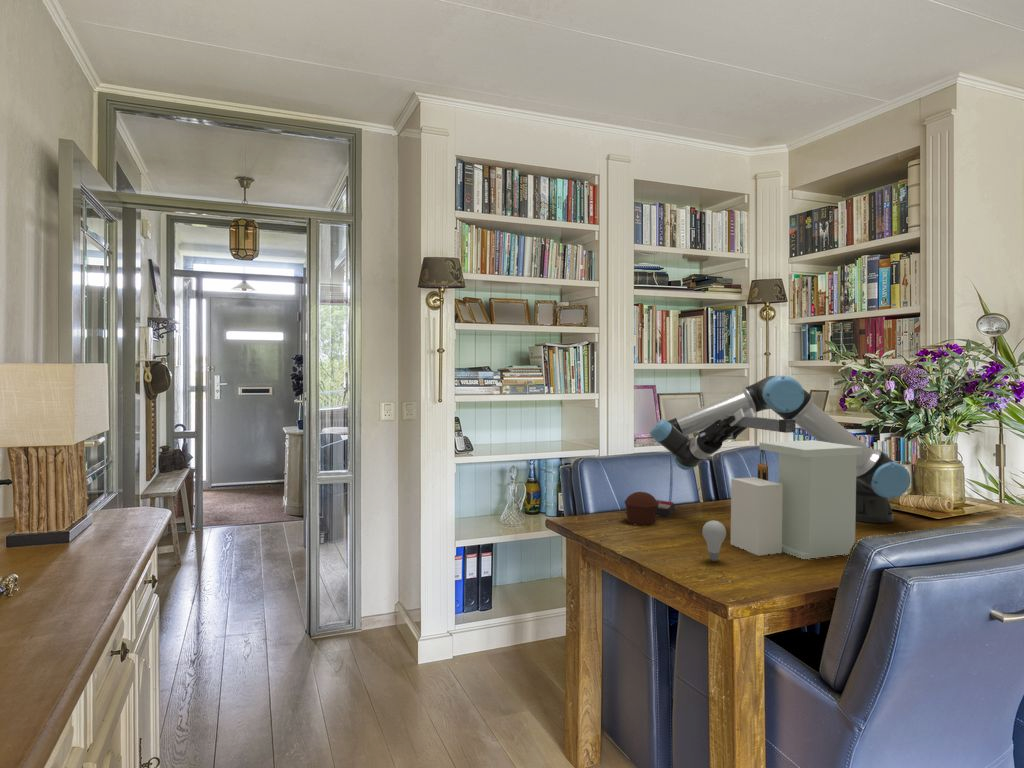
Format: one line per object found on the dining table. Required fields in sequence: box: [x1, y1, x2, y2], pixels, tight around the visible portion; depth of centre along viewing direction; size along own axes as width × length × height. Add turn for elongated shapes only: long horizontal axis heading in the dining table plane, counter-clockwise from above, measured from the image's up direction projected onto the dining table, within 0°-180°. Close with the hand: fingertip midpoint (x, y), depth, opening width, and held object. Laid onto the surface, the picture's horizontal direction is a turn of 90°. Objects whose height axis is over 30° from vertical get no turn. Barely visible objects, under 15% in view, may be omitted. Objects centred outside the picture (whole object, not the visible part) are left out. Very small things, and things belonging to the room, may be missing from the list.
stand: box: [758, 439, 862, 560], centre depth 184 cm, size 18×20×30 cm
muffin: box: [624, 491, 659, 526], centre depth 215 cm, size 12×11×10 cm
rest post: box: [730, 476, 783, 557], centre depth 184 cm, size 12×8×20 cm, turn 18°
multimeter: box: [757, 449, 769, 481], centre depth 257 cm, size 15×10×20 cm
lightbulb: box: [701, 519, 727, 562], centre depth 172 cm, size 6×6×11 cm
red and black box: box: [656, 499, 676, 518], centre depth 231 cm, size 11×4×15 cm
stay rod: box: [726, 415, 796, 434], centre depth 186 cm, size 26×3×3 cm, turn 18°
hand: (747, 412), depth 191 cm, fingers closed on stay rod, 3 cm apart
